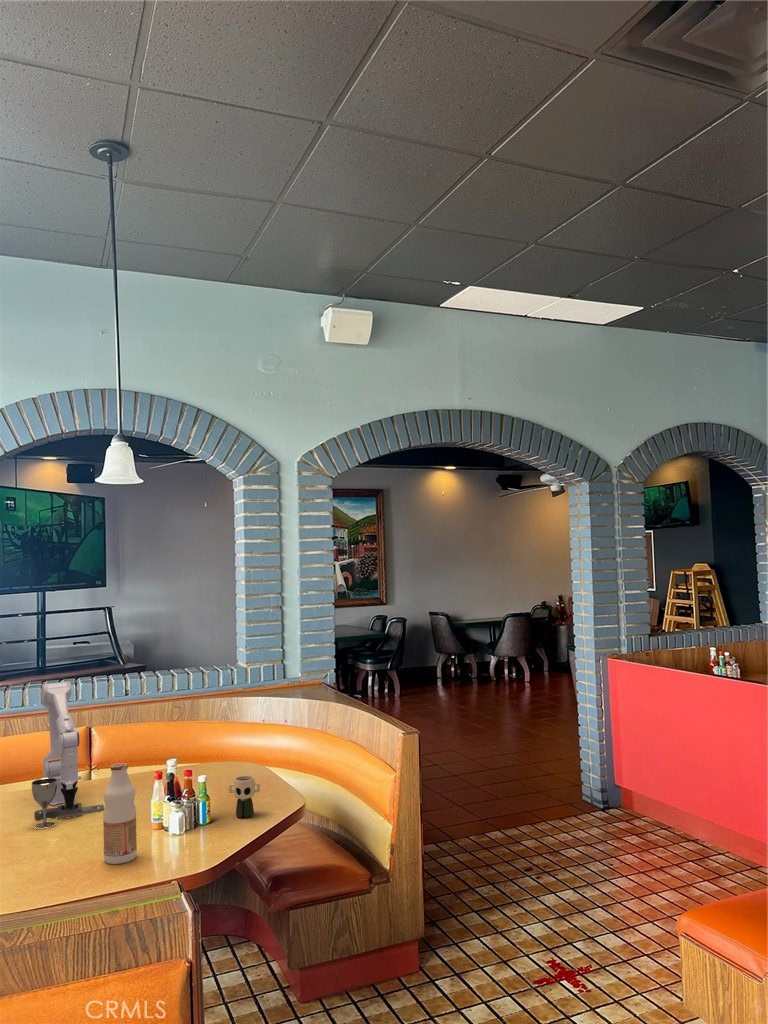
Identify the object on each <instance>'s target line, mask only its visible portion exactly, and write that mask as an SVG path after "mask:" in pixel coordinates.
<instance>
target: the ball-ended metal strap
mask: <svg viewBox="0 0 768 1024" xmlns="http://www.w3.org/2000/svg"><path fill="white" fill-rule="evenodd" d="M82 806H83V805H82V802H77V809H71V810H64V804H59V805H57V807H52V808H47V810H46V820H48V819H47V818H52V819H57V820H62V819H61V818H64V819H68V818H67V817H71V818H74V817H73V816H78V817H82V816H83V815H86V813H87V814H93V812H94V813H98V812H99V813H100V812H102V811H103V812H104V809H105V806H104V805H103V804H96V805H90V806H83V807H82ZM33 812H34V813H33V815H34V817H33V818H34V819H36V820H35V821H41V820H40V819H43V810H42V809H39V810H35V811H33ZM56 817H57V818H56Z"/></svg>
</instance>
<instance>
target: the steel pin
mask: <svg viewBox="0 0 768 1024" xmlns="http://www.w3.org/2000/svg"><path fill="white" fill-rule="evenodd" d="M77 803H78V802H77V793H76V794H75V798H74V805H73V808H66V804H65V799H64V803H63V805H64V810H71V809H77Z"/></svg>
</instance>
